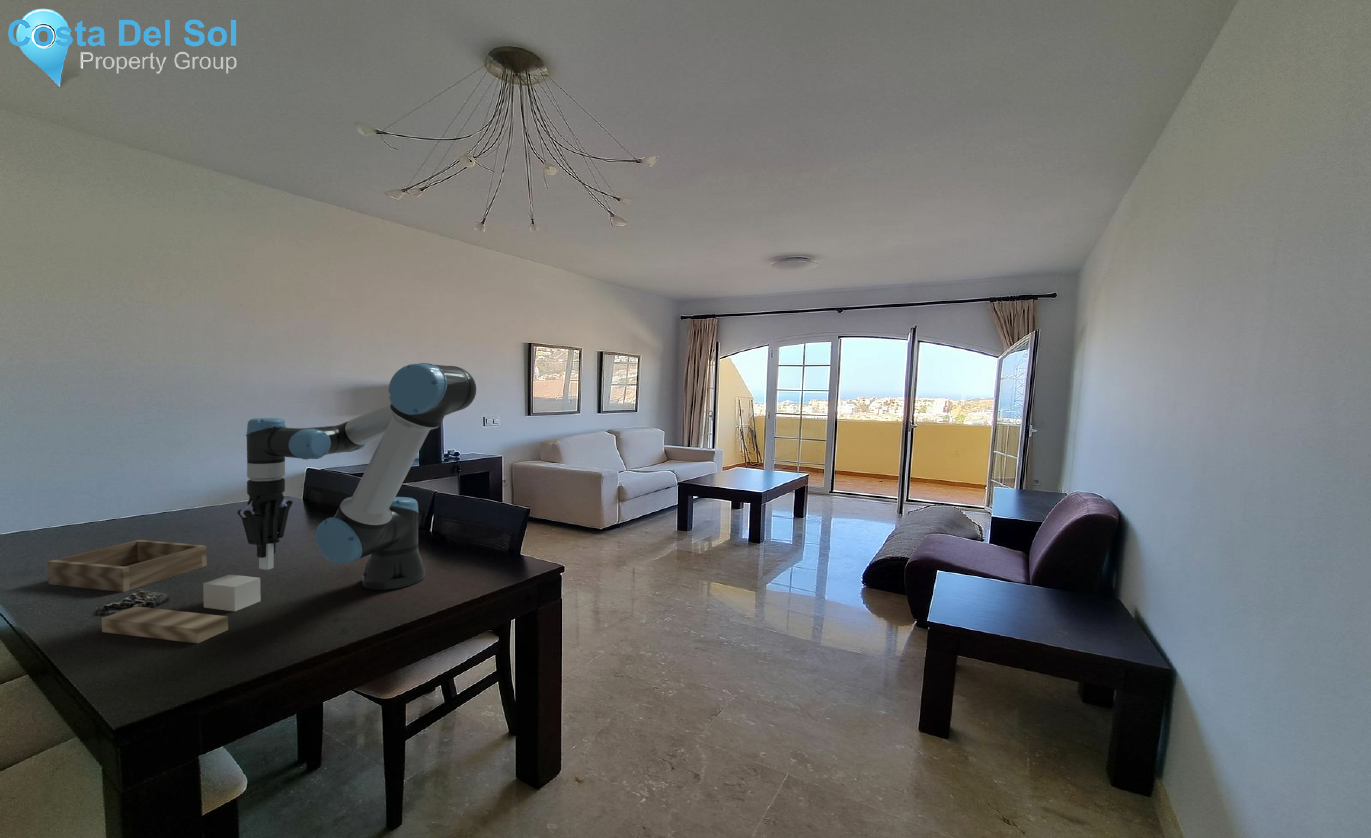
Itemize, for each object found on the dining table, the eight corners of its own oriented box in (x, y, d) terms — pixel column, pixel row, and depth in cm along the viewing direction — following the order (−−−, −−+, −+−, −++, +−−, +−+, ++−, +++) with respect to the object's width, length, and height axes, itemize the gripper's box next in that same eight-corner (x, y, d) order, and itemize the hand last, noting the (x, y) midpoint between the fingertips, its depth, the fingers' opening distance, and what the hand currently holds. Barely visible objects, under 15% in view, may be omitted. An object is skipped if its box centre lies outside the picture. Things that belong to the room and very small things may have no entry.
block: (260, 601, 125) (260, 577, 125) (235, 612, 119) (234, 587, 119) (230, 598, 127) (229, 574, 126) (203, 608, 121) (203, 583, 120)
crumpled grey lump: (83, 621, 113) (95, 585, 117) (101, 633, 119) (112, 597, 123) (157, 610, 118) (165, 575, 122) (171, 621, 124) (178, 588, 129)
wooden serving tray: (206, 565, 147) (206, 545, 147) (123, 591, 128) (122, 568, 127) (139, 559, 150) (138, 539, 150) (48, 584, 131) (47, 561, 131)
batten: (228, 629, 110) (227, 616, 110) (197, 643, 104) (197, 629, 104) (136, 619, 114) (135, 606, 113) (101, 631, 108) (101, 618, 108)
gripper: (277, 473, 137) (277, 558, 138) (227, 481, 124) (227, 575, 126) (301, 475, 136) (301, 561, 137) (253, 483, 123) (254, 578, 124)
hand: (266, 568), depth 131 cm, fingers closed
